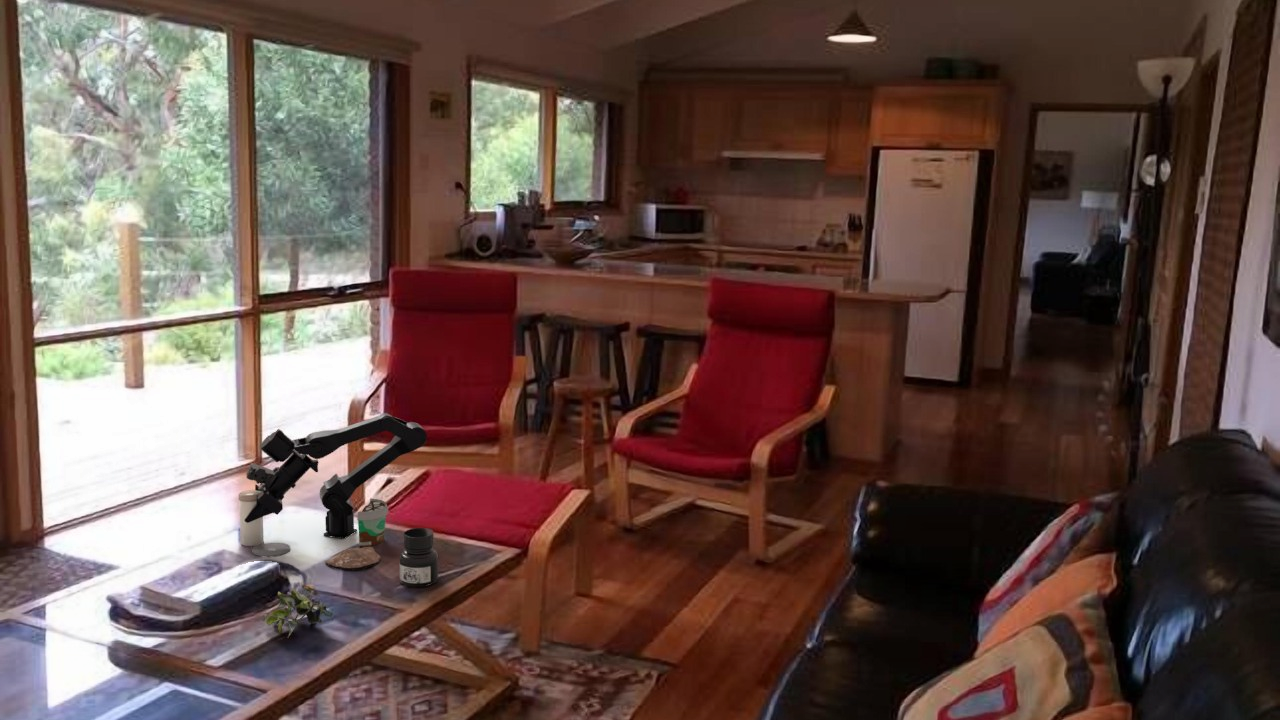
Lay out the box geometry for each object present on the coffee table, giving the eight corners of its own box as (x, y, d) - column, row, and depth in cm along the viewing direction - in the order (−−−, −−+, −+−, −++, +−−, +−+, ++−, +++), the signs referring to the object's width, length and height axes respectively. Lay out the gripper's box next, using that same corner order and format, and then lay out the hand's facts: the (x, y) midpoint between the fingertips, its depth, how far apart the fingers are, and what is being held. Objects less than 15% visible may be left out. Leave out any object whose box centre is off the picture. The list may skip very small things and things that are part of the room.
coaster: (297, 547, 264) (297, 545, 264) (275, 558, 255) (275, 557, 255) (267, 542, 267) (267, 540, 266) (244, 554, 258) (244, 552, 258)
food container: (381, 551, 263) (381, 513, 261) (357, 550, 263) (357, 512, 261) (394, 534, 275) (393, 498, 273) (371, 533, 275) (370, 497, 274)
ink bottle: (390, 584, 242) (390, 535, 240) (412, 571, 250) (411, 524, 248) (426, 591, 239) (425, 541, 237) (446, 578, 247) (446, 530, 245)
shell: (391, 562, 257) (391, 548, 256) (350, 576, 247) (349, 562, 246) (362, 551, 264) (361, 537, 263) (320, 564, 254) (319, 550, 253)
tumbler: (268, 540, 268) (267, 491, 266) (254, 547, 263) (252, 498, 260) (250, 537, 270) (248, 489, 267) (235, 544, 264) (233, 495, 262)
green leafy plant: (311, 647, 221) (344, 605, 220) (284, 661, 210) (319, 616, 209) (274, 612, 223) (307, 570, 221) (246, 624, 212) (279, 579, 211)
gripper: (263, 444, 272) (220, 488, 270) (266, 462, 255) (220, 509, 253) (296, 470, 276) (253, 514, 274) (301, 490, 259) (256, 537, 257)
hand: (245, 518), depth 264 cm, fingers closed on tumbler, 5 cm apart
